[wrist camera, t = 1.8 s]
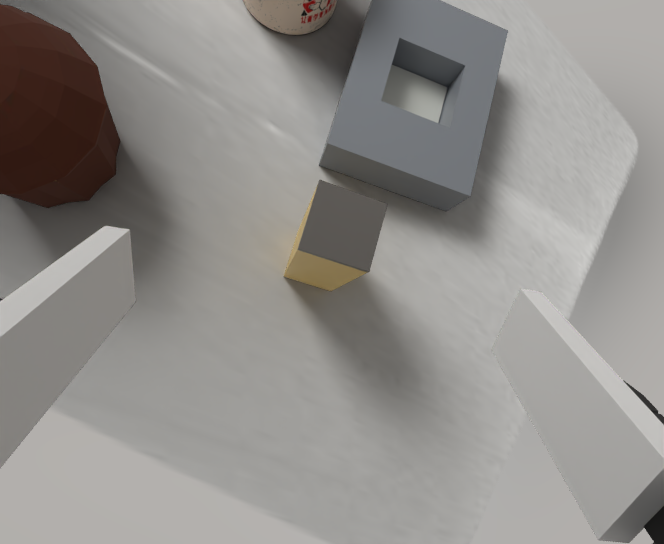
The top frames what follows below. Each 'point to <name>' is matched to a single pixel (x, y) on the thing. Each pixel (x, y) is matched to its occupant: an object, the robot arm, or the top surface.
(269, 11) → the teacup with lid
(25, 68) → the muffin
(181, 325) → the top surface
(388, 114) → the socket plate
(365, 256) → the plug
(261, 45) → the top surface
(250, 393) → the top surface
